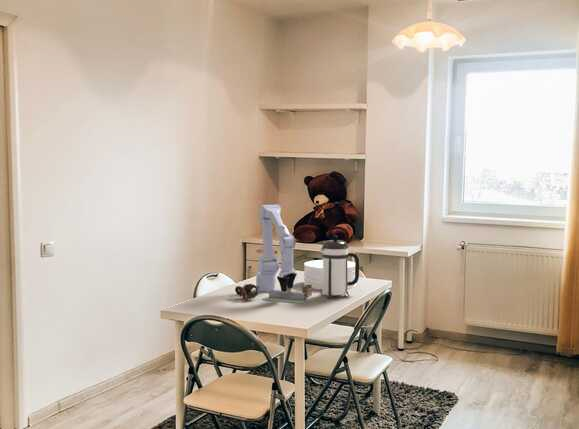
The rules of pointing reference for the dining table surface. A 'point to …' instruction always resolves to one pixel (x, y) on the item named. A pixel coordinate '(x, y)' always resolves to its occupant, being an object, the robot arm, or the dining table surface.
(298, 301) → the mat
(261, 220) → the robot arm
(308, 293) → the bracket right
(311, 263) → the plate stack
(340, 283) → the coffee press
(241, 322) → the dining table surface
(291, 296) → the rail
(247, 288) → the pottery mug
